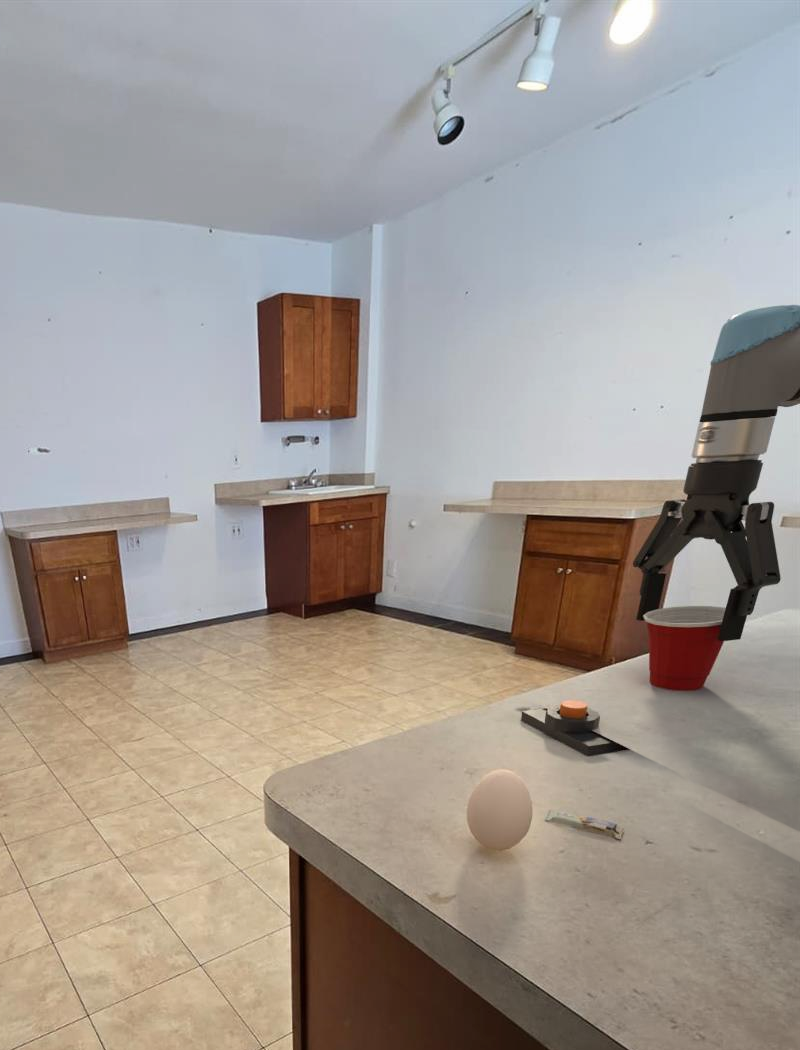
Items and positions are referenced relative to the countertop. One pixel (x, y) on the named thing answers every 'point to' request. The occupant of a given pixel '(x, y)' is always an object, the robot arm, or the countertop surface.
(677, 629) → the plastic cup
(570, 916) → the countertop surface
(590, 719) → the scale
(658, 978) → the countertop surface
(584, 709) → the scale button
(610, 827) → the granola bar
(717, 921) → the countertop surface
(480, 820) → the egg
